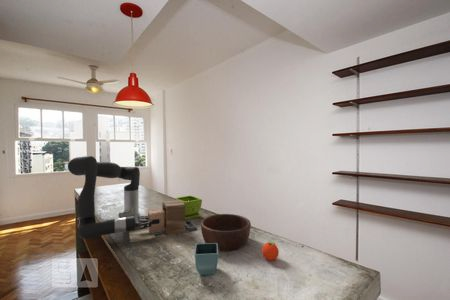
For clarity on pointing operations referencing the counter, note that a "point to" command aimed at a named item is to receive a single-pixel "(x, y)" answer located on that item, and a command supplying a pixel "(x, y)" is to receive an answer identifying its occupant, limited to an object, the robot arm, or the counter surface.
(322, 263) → the counter surface
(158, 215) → the tall wood-grain block
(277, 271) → the counter surface
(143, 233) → the pad
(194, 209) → the flower pot
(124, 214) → the food container
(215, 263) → the flower pot
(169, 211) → the tunnel
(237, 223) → the wooden bowl
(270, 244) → the clementine
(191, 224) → the pit tray
